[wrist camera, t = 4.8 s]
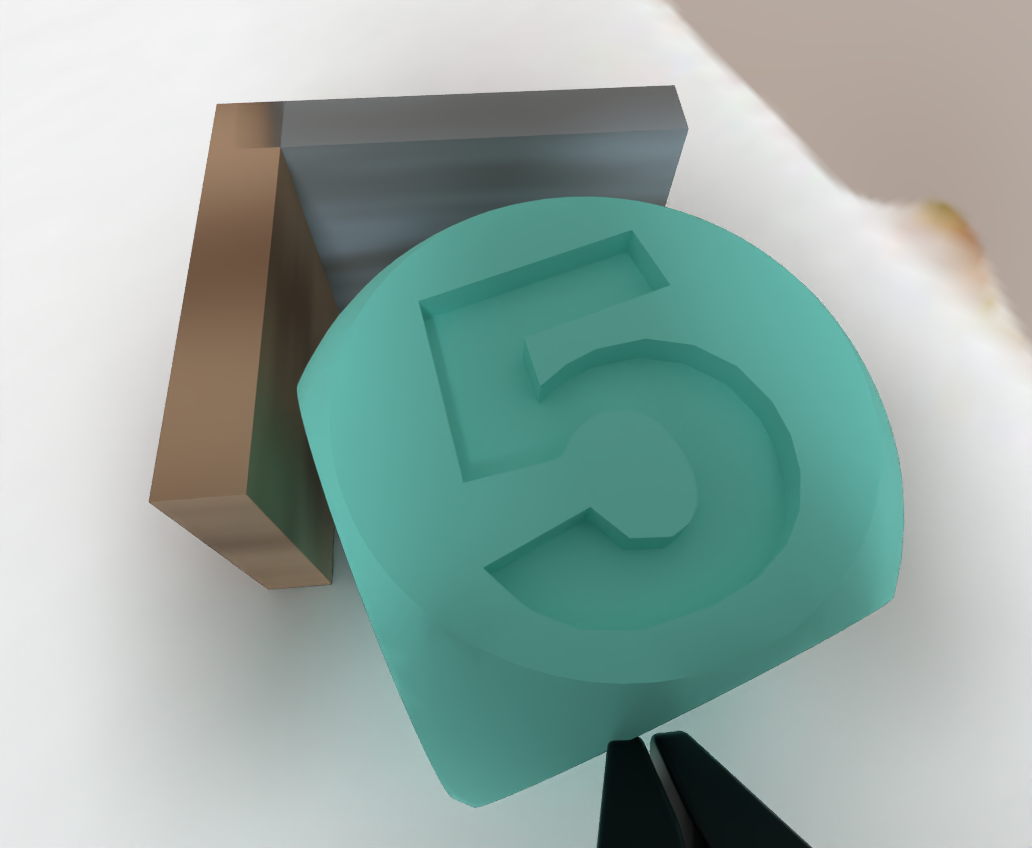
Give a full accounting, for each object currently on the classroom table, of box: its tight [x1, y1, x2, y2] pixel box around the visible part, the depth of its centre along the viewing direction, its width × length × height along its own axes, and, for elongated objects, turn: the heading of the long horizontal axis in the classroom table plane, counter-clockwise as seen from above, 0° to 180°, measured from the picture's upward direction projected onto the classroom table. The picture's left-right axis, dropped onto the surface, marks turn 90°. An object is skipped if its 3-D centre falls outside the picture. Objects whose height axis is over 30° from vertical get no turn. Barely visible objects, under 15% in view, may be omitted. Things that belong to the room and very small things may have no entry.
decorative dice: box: [297, 197, 904, 808], centre depth 13 cm, size 8×8×8 cm
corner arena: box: [149, 85, 688, 590], centre depth 15 cm, size 10×10×6 cm
